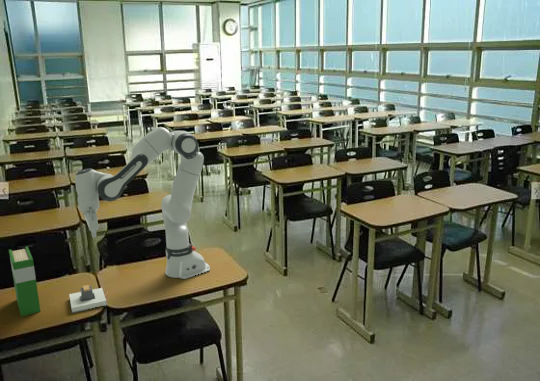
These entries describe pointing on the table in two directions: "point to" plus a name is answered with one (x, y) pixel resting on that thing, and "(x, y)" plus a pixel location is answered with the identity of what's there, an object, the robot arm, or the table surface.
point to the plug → (86, 293)
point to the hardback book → (24, 281)
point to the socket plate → (81, 305)
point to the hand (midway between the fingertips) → (93, 233)
